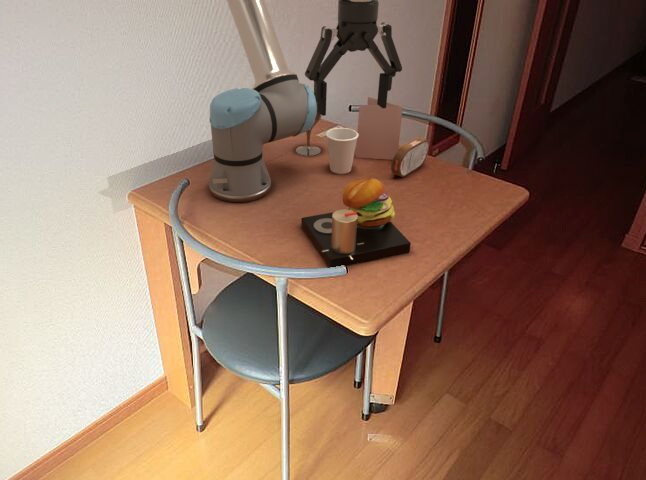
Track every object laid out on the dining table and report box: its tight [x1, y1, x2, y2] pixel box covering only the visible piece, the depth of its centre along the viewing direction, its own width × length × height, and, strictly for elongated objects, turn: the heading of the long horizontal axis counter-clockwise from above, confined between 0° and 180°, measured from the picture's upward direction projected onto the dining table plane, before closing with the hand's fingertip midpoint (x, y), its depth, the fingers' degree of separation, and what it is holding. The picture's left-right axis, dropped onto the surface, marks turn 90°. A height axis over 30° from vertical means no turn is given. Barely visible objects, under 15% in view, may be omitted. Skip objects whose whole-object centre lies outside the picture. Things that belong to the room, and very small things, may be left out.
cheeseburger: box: [342, 177, 396, 227], centre depth 119 cm, size 10×11×10 cm
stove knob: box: [331, 208, 358, 254], centre depth 110 cm, size 5×5×8 cm
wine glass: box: [295, 97, 323, 157], centre depth 153 cm, size 8×8×15 cm
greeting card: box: [355, 96, 404, 161], centre depth 150 cm, size 11×7×15 cm, turn 49°
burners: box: [314, 218, 386, 234], centre depth 120 cm, size 8×17×1 cm, turn 111°
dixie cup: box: [325, 127, 358, 175], centre depth 145 cm, size 8×8×10 cm
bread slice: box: [390, 135, 430, 178], centre depth 146 cm, size 15×3×8 cm, turn 141°
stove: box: [300, 211, 411, 268], centre depth 118 cm, size 19×19×3 cm
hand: (352, 109), depth 115 cm, fingers open, 13 cm apart
